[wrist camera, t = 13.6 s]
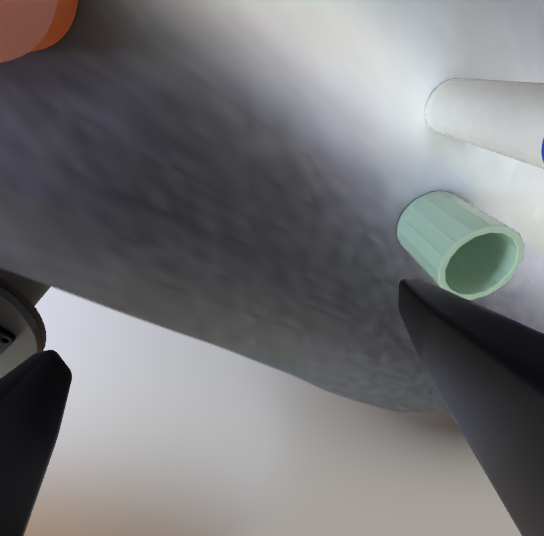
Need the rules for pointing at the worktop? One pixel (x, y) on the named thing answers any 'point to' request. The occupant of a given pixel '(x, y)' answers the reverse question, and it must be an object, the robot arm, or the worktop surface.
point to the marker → (491, 116)
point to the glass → (459, 244)
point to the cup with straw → (33, 25)
